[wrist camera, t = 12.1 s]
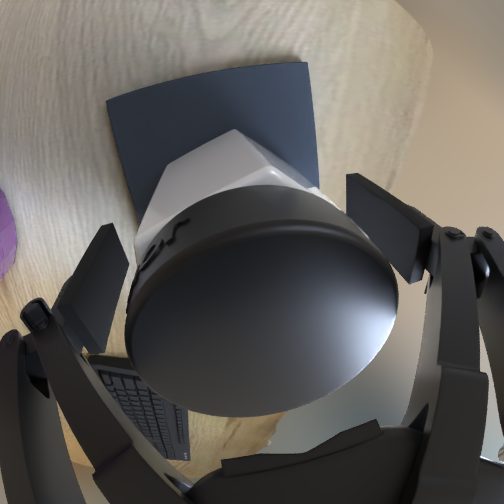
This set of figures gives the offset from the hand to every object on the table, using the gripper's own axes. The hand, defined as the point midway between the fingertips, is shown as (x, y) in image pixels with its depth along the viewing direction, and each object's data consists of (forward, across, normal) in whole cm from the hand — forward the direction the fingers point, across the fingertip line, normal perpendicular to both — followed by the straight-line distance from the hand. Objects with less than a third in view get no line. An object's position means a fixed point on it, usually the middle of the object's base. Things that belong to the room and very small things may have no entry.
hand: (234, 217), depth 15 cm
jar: (+3, 0, 0) cm, 3 cm away
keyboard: (+4, -17, -28) cm, 33 cm away
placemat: (+4, 0, 0) cm, 4 cm away
